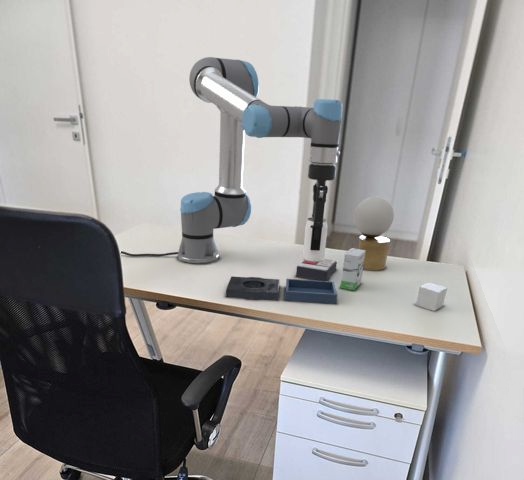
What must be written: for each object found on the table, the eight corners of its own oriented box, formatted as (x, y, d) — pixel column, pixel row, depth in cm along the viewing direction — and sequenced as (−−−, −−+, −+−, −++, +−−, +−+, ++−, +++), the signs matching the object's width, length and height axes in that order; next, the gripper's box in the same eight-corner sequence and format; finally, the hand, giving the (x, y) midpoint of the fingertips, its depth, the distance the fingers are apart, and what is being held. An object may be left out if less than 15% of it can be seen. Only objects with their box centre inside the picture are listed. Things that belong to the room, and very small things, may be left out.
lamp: (340, 260, 173) (349, 193, 161) (370, 257, 178) (381, 192, 166) (363, 272, 161) (374, 201, 149) (394, 268, 166) (407, 200, 154)
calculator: (337, 259, 161) (327, 269, 148) (335, 271, 163) (325, 281, 150) (308, 255, 164) (296, 264, 152) (307, 266, 166) (295, 276, 154)
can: (328, 259, 133) (332, 219, 128) (315, 264, 129) (319, 222, 124) (311, 255, 137) (315, 216, 132) (298, 259, 133) (301, 218, 127)
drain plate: (225, 297, 134) (225, 290, 133) (231, 282, 146) (231, 275, 145) (277, 301, 134) (278, 293, 133) (279, 285, 145) (279, 278, 144)
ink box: (353, 291, 144) (359, 256, 138) (339, 288, 146) (344, 253, 140) (361, 283, 151) (366, 249, 145) (347, 280, 152) (351, 247, 147)
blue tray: (284, 300, 134) (285, 291, 133) (285, 287, 145) (286, 278, 143) (335, 303, 134) (337, 294, 132) (333, 290, 144) (334, 281, 142)
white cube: (442, 305, 136) (447, 287, 133) (434, 311, 132) (438, 292, 129) (424, 300, 140) (428, 282, 137) (415, 304, 136) (419, 286, 133)
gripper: (339, 168, 112) (329, 256, 123) (333, 160, 129) (325, 239, 140) (309, 167, 112) (302, 255, 123) (308, 159, 129) (301, 237, 140)
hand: (314, 246), depth 131 cm, fingers closed on can, 6 cm apart
